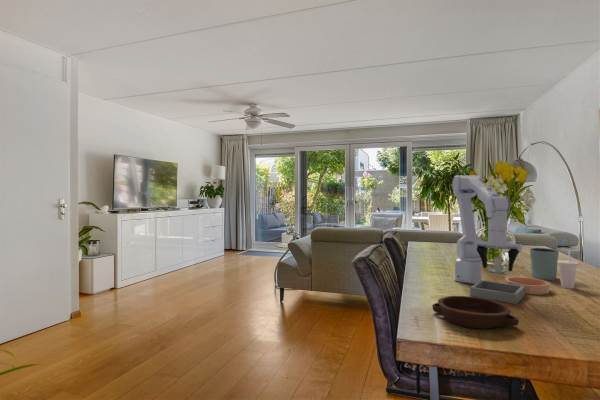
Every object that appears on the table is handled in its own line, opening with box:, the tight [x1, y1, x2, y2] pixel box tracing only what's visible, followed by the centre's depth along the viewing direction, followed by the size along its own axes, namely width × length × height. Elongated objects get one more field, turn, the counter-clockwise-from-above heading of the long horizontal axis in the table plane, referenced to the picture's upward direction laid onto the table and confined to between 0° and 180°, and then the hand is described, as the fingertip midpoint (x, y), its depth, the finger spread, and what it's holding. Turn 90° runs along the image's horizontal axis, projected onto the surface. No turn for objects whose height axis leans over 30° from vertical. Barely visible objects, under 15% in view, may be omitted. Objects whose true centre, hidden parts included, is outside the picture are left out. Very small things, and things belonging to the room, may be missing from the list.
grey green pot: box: [529, 247, 560, 281], centre depth 146 cm, size 10×10×12 cm
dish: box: [431, 295, 520, 330], centre depth 97 cm, size 17×22×5 cm
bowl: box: [504, 276, 551, 295], centre depth 128 cm, size 14×14×3 cm
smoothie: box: [557, 250, 579, 290], centre depth 130 cm, size 6×6×14 cm
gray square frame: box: [469, 279, 526, 305], centre depth 121 cm, size 14×14×3 cm
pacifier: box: [486, 256, 510, 277], centre depth 120 cm, size 7×6×6 cm
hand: (497, 269), depth 121 cm, fingers closed on pacifier, 7 cm apart
